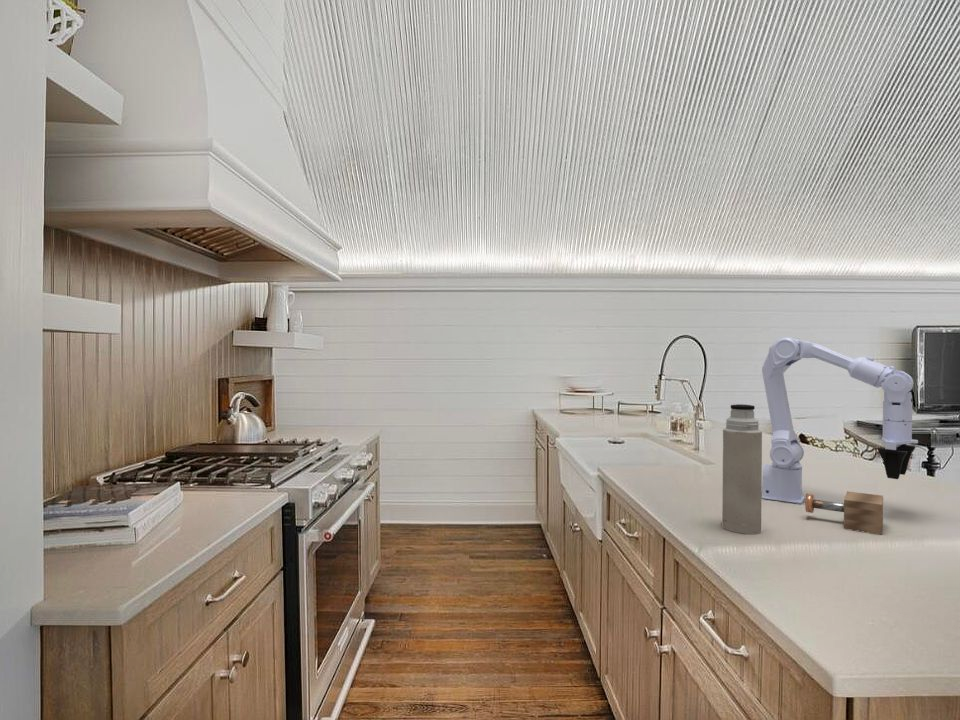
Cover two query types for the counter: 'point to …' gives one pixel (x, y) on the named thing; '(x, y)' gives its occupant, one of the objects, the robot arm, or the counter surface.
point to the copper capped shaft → (821, 504)
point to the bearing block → (863, 512)
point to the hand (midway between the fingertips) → (896, 476)
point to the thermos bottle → (742, 471)
